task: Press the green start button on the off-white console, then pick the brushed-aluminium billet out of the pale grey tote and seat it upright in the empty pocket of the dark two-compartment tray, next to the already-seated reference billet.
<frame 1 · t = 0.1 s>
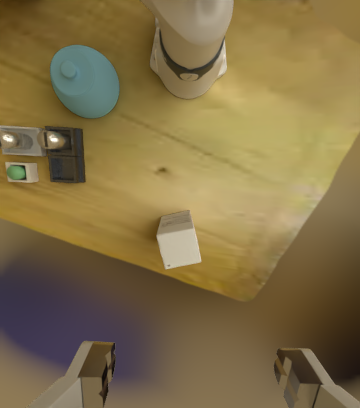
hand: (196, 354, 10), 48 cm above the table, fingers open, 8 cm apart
billet: (25, 141, 52), resting on tote
tote: (26, 141, 53), on the table
start button: (17, 172, 51), point 3 cm above the table, slide at 0.0 cm
supplement box: (178, 226, 59), on the table
reference billet: (65, 141, 52), point 1 cm above the table, touching dark two-compartment tray
console: (26, 171, 55), on the table
dark two-compartment tray: (69, 155, 54), on the table
sugar bowl: (92, 88, 50), on the table
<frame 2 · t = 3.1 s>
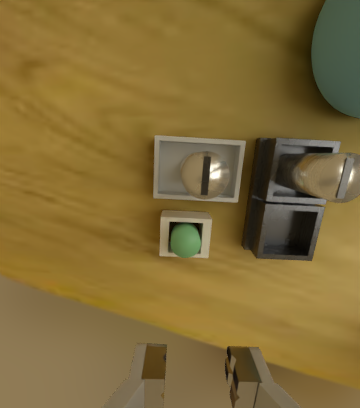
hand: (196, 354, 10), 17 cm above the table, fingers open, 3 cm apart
billet: (196, 169, 24), resting on tote
tote: (196, 169, 24), on the table
start button: (185, 239, 23), point 3 cm above the table, slide at 0.0 cm
reference billet: (289, 170, 23), point 1 cm above the table, touching dark two-compartment tray
console: (184, 228, 26), on the table
dark two-compartment tray: (279, 197, 26), on the table
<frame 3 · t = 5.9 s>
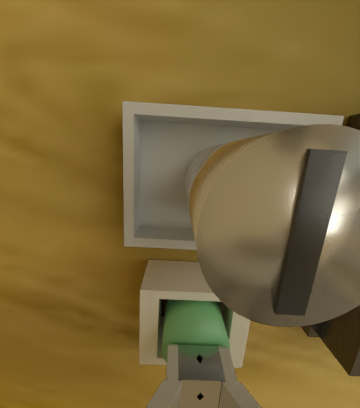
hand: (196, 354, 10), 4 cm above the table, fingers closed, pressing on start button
billet: (218, 181, 11), resting on tote
tote: (217, 180, 12), on the table
start button: (193, 327, 11), point 3 cm above the table, slide at -0.6 cm, touching gripper
console: (190, 293, 14), on the table
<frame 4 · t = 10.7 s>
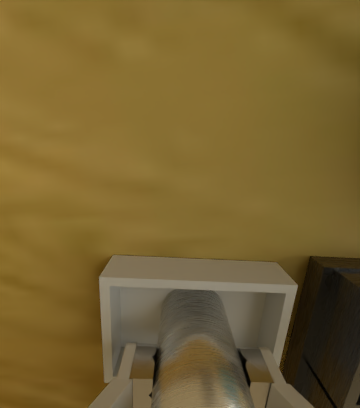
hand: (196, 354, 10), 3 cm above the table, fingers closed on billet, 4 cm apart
billet: (192, 311, 12), resting on tote, touching gripper
tote: (191, 306, 13), on the table
dark two-compartment tray: (344, 348, 14), on the table
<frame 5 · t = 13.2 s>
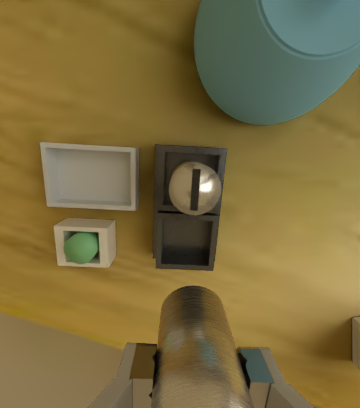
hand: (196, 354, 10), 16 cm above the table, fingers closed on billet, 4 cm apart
billet: (192, 313, 12), point 14 cm above the table, touching gripper
tote: (97, 175, 24), on the table
start button: (84, 245, 23), point 2 cm above the table, slide at -0.9 cm
reference billet: (189, 177, 23), point 1 cm above the table, touching dark two-compartment tray
console: (92, 236, 26), on the table
dark two-compartment tray: (186, 204, 25), on the table
sugar bowl: (262, 53, 21), on the table
when the fingers open (5 cm above the table, at t = 15.5 s): billet stays where it is, resting on dark two-compartment tray.
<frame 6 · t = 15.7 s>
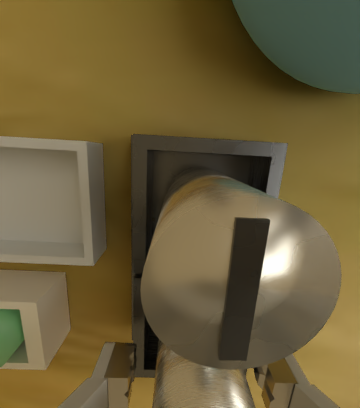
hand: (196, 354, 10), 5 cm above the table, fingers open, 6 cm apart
billet: (191, 302, 13), point 1 cm above the table, touching dark two-compartment tray
tote: (26, 195, 13), on the table
reference billet: (198, 201, 12), point 1 cm above the table, touching dark two-compartment tray
console: (27, 300, 15), on the table
dark two-compartment tray: (193, 245, 14), on the table
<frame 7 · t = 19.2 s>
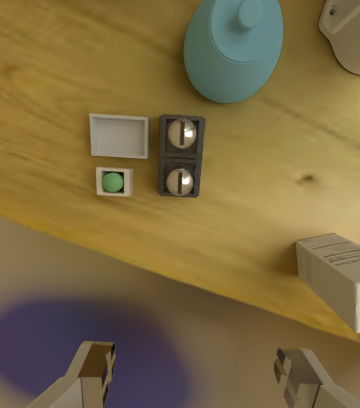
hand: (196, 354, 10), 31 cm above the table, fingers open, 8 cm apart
billet: (179, 177, 37), point 1 cm above the table, touching dark two-compartment tray
tote: (122, 137, 37), on the table
start button: (114, 181, 36), point 2 cm above the table, slide at -0.9 cm
supplement box: (315, 254, 43), on the table
reference billet: (181, 138, 36), point 1 cm above the table, touching dark two-compartment tray
console: (117, 180, 39), on the table
dark two-compartment tray: (180, 157, 38), on the table
sugar bowl: (226, 59, 34), on the table
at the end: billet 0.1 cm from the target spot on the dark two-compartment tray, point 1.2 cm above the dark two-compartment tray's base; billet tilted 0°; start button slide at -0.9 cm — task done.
